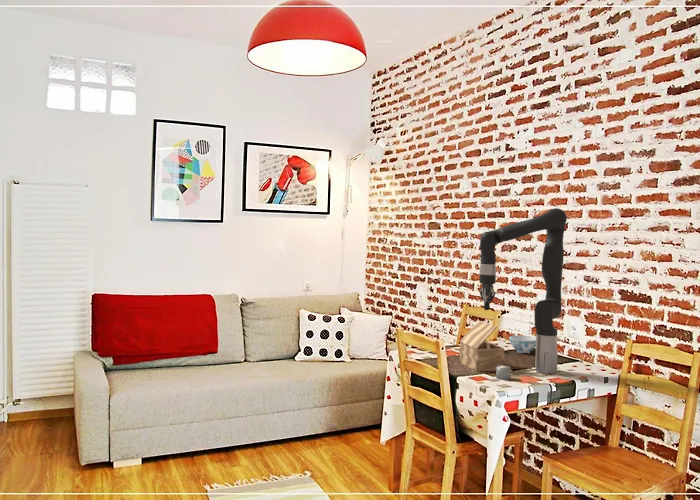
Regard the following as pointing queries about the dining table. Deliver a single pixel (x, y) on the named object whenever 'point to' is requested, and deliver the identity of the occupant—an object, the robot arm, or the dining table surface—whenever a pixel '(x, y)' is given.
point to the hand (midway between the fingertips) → (486, 309)
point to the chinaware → (523, 343)
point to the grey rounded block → (503, 372)
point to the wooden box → (482, 356)
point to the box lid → (478, 334)
